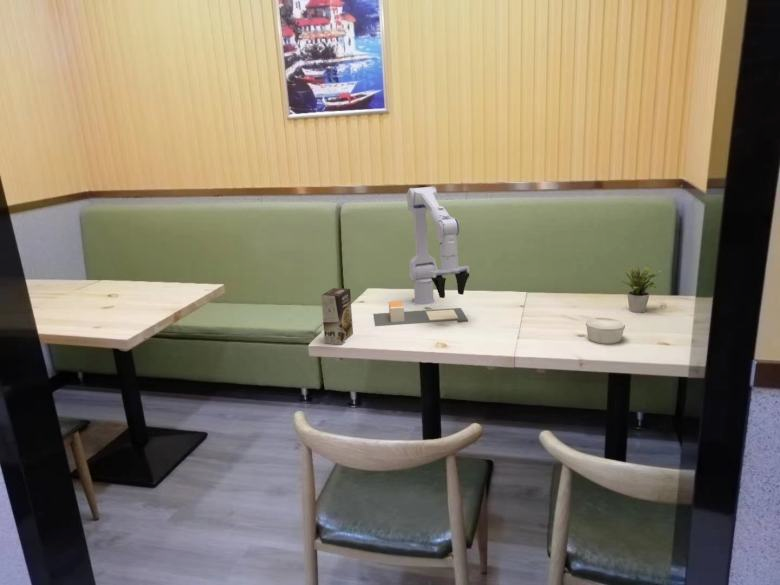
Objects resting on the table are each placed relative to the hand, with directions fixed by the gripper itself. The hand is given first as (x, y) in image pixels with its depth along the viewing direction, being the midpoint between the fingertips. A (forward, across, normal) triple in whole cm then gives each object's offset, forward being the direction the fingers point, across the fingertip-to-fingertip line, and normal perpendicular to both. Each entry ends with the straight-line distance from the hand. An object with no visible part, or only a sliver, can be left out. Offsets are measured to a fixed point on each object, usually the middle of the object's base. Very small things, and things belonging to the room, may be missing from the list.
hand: (451, 295), depth 195 cm
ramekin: (+14, +29, -38) cm, 50 cm away
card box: (+8, -12, +17) cm, 22 cm away
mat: (+9, -5, +14) cm, 17 cm away
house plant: (+12, +59, -27) cm, 66 cm away
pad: (+9, +2, +10) cm, 14 cm away
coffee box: (+10, -37, +11) cm, 40 cm away
